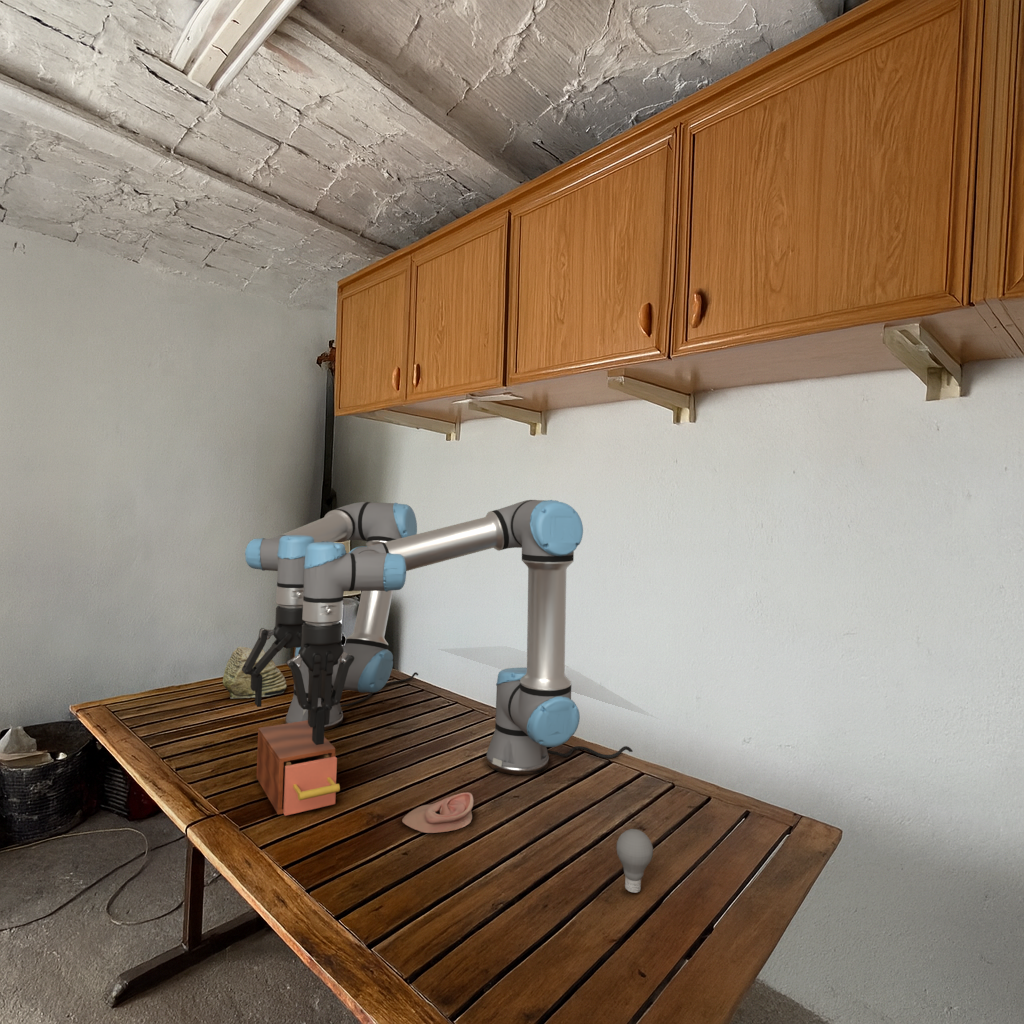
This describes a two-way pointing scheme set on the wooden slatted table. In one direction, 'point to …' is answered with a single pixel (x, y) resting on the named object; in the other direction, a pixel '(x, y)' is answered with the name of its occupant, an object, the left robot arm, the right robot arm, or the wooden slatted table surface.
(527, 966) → the wooden slatted table surface
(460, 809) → the anatomical model
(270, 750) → the cabinet
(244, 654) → the fossil
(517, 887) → the wooden slatted table surface
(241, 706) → the wooden slatted table surface
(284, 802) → the drawer
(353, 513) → the left robot arm
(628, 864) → the light bulb
